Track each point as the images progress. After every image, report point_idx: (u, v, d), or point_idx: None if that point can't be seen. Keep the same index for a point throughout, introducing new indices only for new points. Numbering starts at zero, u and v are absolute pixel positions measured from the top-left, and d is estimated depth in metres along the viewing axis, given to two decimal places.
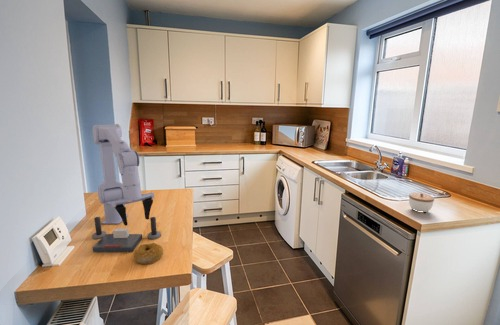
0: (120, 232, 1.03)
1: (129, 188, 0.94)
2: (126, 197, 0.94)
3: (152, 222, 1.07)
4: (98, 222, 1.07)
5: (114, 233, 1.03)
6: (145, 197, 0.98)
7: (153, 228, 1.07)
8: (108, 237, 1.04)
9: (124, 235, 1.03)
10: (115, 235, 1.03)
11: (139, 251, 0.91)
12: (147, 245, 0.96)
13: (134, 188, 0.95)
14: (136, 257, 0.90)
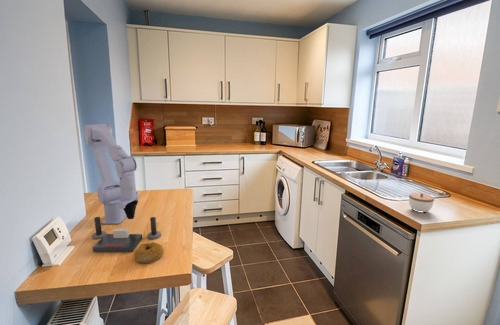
0: (120, 232, 1.03)
1: (132, 190, 1.08)
2: (128, 198, 1.08)
3: (152, 222, 1.07)
4: (98, 222, 1.07)
5: (114, 233, 1.03)
6: (137, 196, 1.14)
7: (153, 228, 1.07)
8: (108, 237, 1.04)
9: (124, 235, 1.03)
10: (115, 235, 1.03)
11: (139, 250, 0.92)
12: (147, 244, 0.97)
13: (134, 189, 1.10)
14: (137, 256, 0.90)
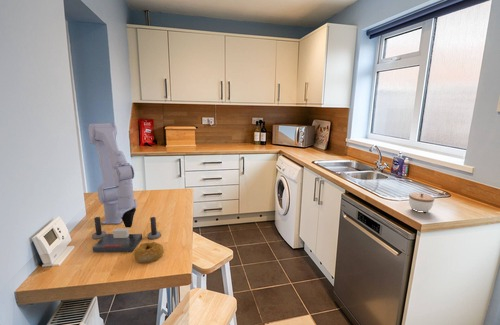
0: (120, 232, 1.03)
1: (130, 198, 1.06)
2: (126, 206, 1.06)
3: (152, 222, 1.07)
4: (98, 222, 1.07)
5: (114, 233, 1.03)
6: None
7: (153, 228, 1.07)
8: (108, 237, 1.04)
9: (124, 235, 1.03)
10: (115, 235, 1.03)
11: (140, 250, 0.92)
12: (147, 244, 0.97)
13: (132, 197, 1.08)
14: (137, 256, 0.90)
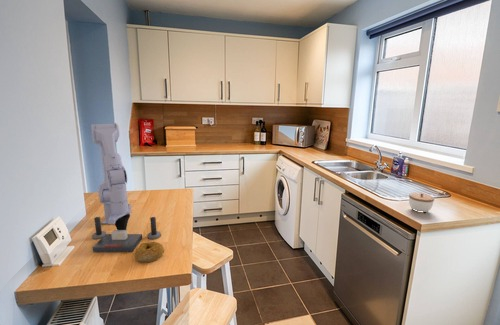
0: (119, 234, 1.01)
1: (124, 203, 1.01)
2: (119, 212, 1.00)
3: (152, 222, 1.07)
4: (98, 222, 1.07)
5: (112, 235, 1.01)
6: (129, 209, 1.07)
7: (153, 228, 1.07)
8: (108, 237, 1.04)
9: (123, 236, 1.02)
10: (113, 237, 1.02)
11: (140, 249, 0.92)
12: (148, 244, 0.97)
13: (126, 202, 1.02)
14: (137, 255, 0.91)
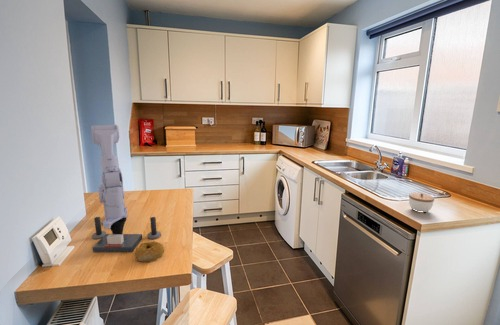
0: (114, 238, 0.98)
1: (119, 207, 0.97)
2: (115, 216, 0.97)
3: (152, 222, 1.07)
4: (98, 222, 1.07)
5: (108, 239, 0.98)
6: (125, 212, 1.03)
7: (153, 228, 1.07)
8: None
9: (119, 241, 0.98)
10: (109, 241, 0.98)
11: (140, 249, 0.92)
12: (148, 243, 0.97)
13: (122, 206, 0.99)
14: (137, 255, 0.91)
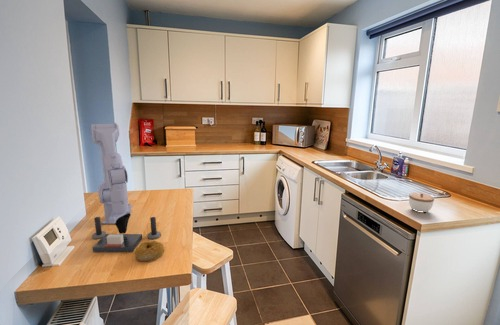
0: (114, 238, 0.98)
1: (124, 203, 1.01)
2: (120, 212, 1.01)
3: (152, 222, 1.07)
4: (98, 222, 1.07)
5: (108, 239, 0.98)
6: (129, 208, 1.07)
7: (153, 228, 1.07)
8: None
9: (118, 241, 0.98)
10: (108, 242, 0.98)
11: (140, 249, 0.93)
12: (148, 243, 0.98)
13: (127, 202, 1.03)
14: (138, 255, 0.91)
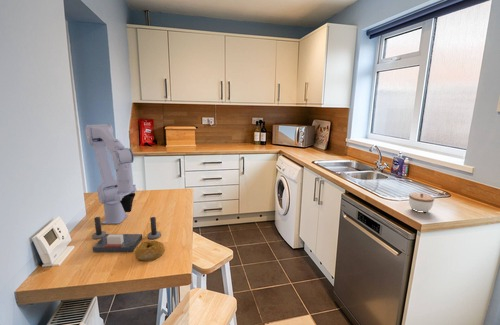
0: (114, 238, 0.98)
1: (129, 182, 1.06)
2: (125, 190, 1.05)
3: (152, 222, 1.07)
4: (98, 222, 1.07)
5: (108, 239, 0.98)
6: (134, 189, 1.12)
7: (153, 228, 1.07)
8: None
9: (118, 241, 0.98)
10: (108, 242, 0.98)
11: (141, 248, 0.93)
12: (148, 242, 0.98)
13: (132, 181, 1.07)
14: (138, 254, 0.92)
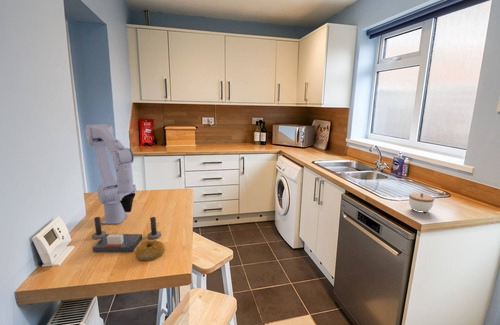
0: (114, 238, 0.98)
1: (129, 182, 1.06)
2: (125, 190, 1.05)
3: (152, 222, 1.07)
4: (98, 222, 1.07)
5: (108, 239, 0.98)
6: (134, 189, 1.12)
7: (153, 228, 1.07)
8: None
9: (118, 241, 0.98)
10: (108, 242, 0.98)
11: (141, 248, 0.93)
12: (148, 242, 0.98)
13: (132, 181, 1.07)
14: (138, 254, 0.92)
